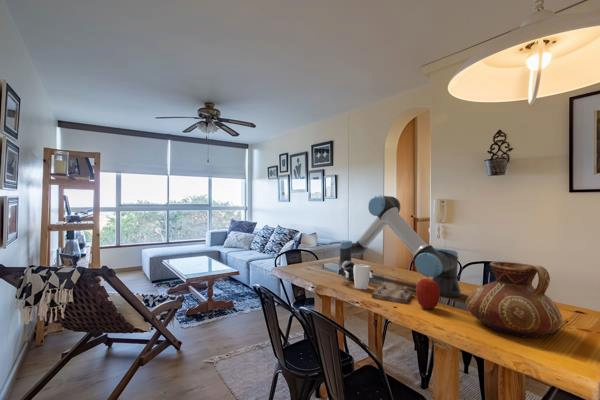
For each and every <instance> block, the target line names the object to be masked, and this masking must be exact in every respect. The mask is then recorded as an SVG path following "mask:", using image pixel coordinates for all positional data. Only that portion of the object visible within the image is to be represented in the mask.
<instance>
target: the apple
mask: <svg viewBox="0 0 600 400" xmlns="http://www.w3.org/2000/svg"><path fill="white" fill-rule="evenodd" d="M415 296H416V299H417V302H418V305H420V307H422V309H426V310H429V309H430V310H431V309H434V308H435V307H437V306H438V303H439V301H440V296H441V295H440V289H439V285H438V284H437V283H436V282H435V281H433V280H432V278H422V279H420V280H418V282H417V284H416V287H415Z"/></svg>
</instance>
